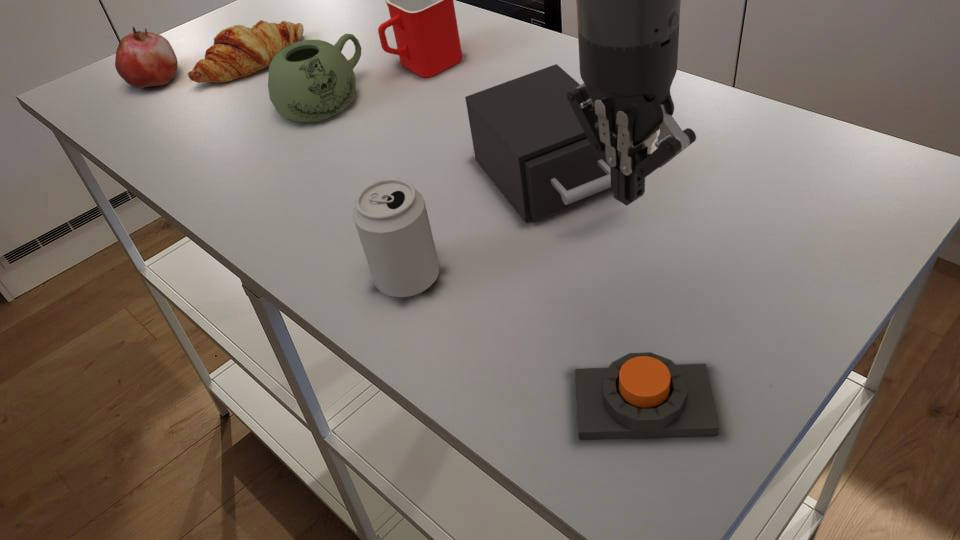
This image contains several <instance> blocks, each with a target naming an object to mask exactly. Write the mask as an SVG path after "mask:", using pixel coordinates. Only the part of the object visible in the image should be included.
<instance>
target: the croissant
mask: <svg viewBox="0 0 960 540" xmlns="http://www.w3.org/2000/svg"><path fill="white" fill-rule="evenodd" d="M304 32H305V30H304V24H303V23H301V22H297V23H295V22H290V21H286V20H282V21H281V22H279V23H276V22H268V21H265V20H262V19H261V20H259V21H258V22H256V23H255V24H253V25H252V27H247V26H246V25H243V24H235V25H233V26H228V27H225V28H224V29H222V30H220V31H219V32H218V33H217V34H216V36H214V38H213V45H210V47H208V48H207V49H206V50H205V55H204V58H202V59H199V60H198V61H196V63H195V65H194V66H193V68H192V70H190V71H188V72H187V76H188V78H189V79H190V80H191V81H192V82H194V83H198V84H200V83H211V82H213V83H214V82H215V83H226V82H229V83H230V82H231V81H233V80H237V79H240V78H243V77H248V76H250V75H254V74H255V73H257V72H258V71H260V70H263V69H265V68H268V67H269V66H270V63H271V61H272V59H273V58H274V56H275V55H276V54H277V53H278V51H280V50H281V49H283V48H284V47H286V46H288V45H290V44H293V43H295V42H299V41H300V39H301V38H302V36H303V35H304Z"/></svg>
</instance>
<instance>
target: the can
mask: <svg viewBox="0 0 960 540" xmlns="http://www.w3.org/2000/svg"><path fill="white" fill-rule="evenodd" d="M352 219H353V222H354V226H355V229H356V232H357V235H358V239H359V241H360V243H361V246H362V247H361V248H362V250H363V253H364V256H365V260H366V262H367V265H368V269H369V272H370V274H371V277H372V280H373V283H374V286H375V288H376V289H378V291H380V293H382V294H384V295H386V296H389V297H393V298H394V297H395V298H409V297H414V296H416V295H420V294H421V293H423V292H425V291H426V290H427V289H428V288H430V287H431V286H432V285H433V284H434V283H435V282H436V281H437V279H438V276H439V274H440V262H439V258H438V253H437V249H436V245H435V240H434V236H433V231H432V228H431V223H430V218H429V214H428V210H427V206H426V201H425V198H424V196H423V195H422V193H421V192H420V191H419V190H417V189H415V186H414V184H412V183H411V182H410V181H409V180H407V179H403V178H400V177H386V178H380V179H378V180H375V181H372V182H370V183H368V184H367V185H365V186H364V187H363V188H362V189H361V190H359V192H358V193H357V195H356V197H355V202H354V207H353V208H352Z"/></svg>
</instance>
